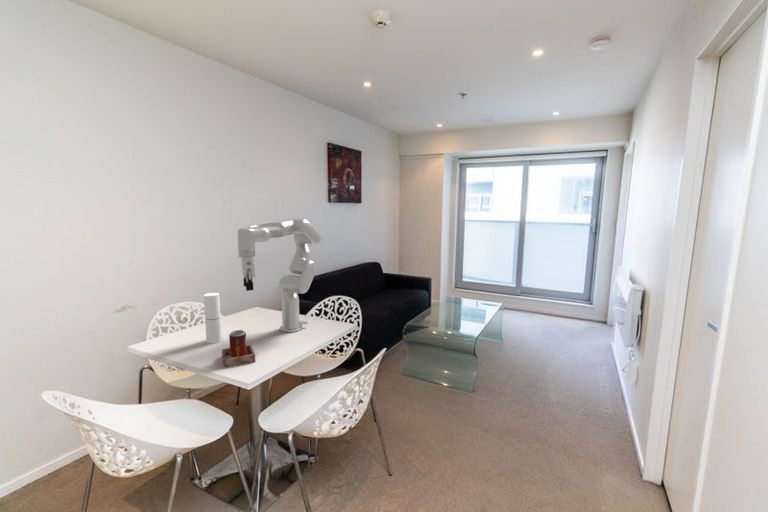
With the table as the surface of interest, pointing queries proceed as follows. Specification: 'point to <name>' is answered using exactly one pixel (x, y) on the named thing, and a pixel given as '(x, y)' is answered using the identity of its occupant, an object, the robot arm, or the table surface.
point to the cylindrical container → (212, 317)
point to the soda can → (238, 343)
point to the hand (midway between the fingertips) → (248, 288)
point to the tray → (238, 360)
